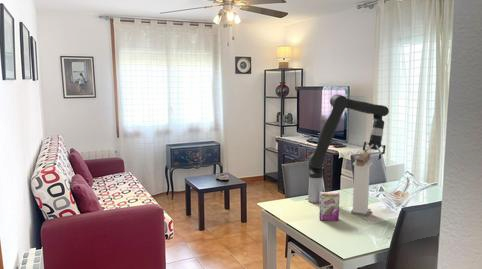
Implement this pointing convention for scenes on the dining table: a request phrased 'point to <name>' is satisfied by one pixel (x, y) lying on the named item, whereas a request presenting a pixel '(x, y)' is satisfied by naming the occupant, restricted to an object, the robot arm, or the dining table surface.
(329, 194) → the candy bar box
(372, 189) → the dining table surface
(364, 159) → the walnut bar
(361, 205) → the shelf post
